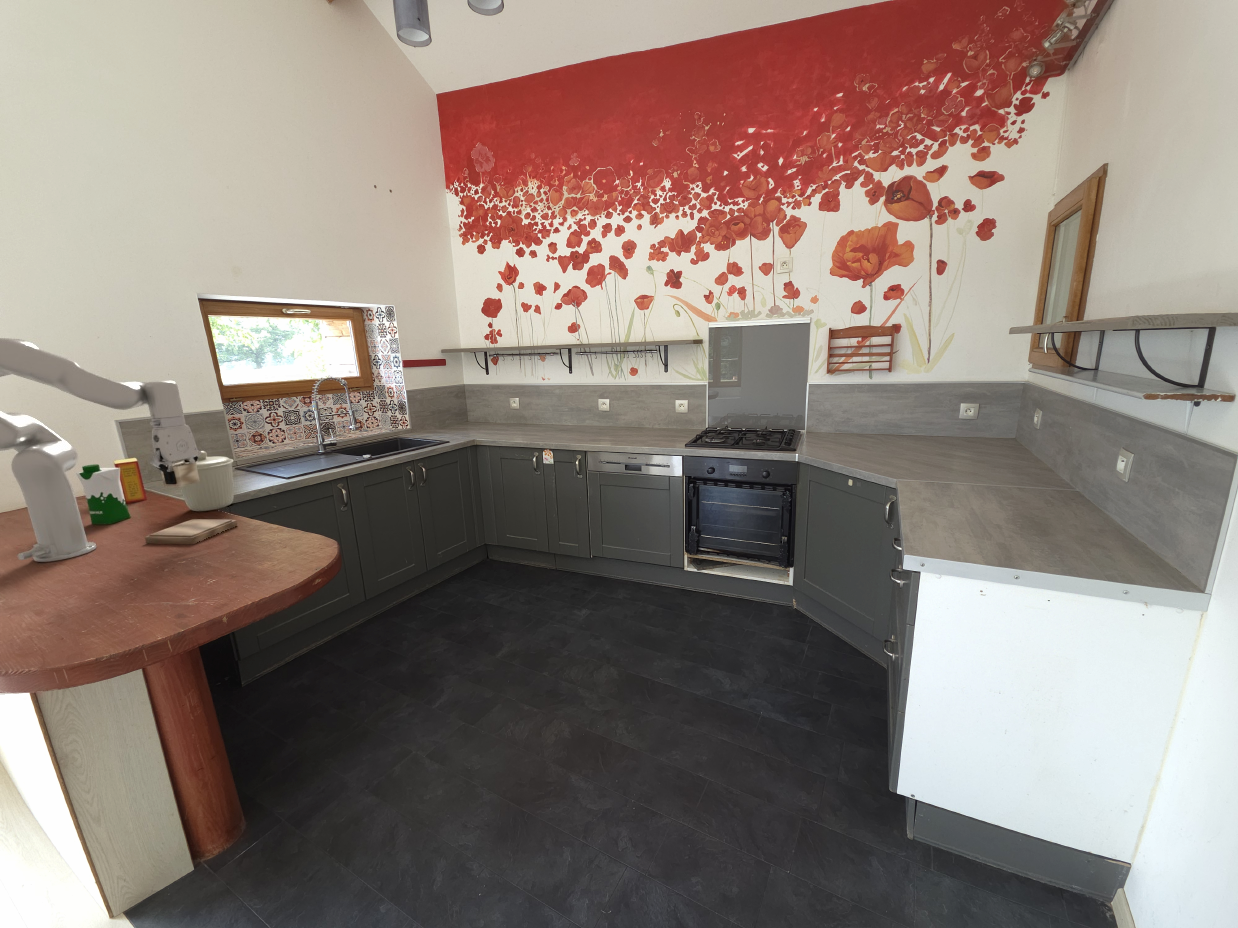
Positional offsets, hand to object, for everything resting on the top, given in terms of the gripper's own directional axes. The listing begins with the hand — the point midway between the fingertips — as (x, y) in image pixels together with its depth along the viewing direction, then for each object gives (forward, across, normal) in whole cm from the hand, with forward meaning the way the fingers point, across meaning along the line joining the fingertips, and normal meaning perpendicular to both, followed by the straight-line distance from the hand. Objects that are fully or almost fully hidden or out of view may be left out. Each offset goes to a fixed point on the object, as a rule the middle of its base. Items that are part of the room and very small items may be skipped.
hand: (181, 480), depth 161 cm
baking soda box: (+18, +36, +63) cm, 75 cm away
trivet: (+17, 0, 0) cm, 17 cm away
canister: (+18, +27, +20) cm, 38 cm away
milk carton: (+18, +11, +43) cm, 48 cm away
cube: (+1, 0, 0) cm, 1 cm away
